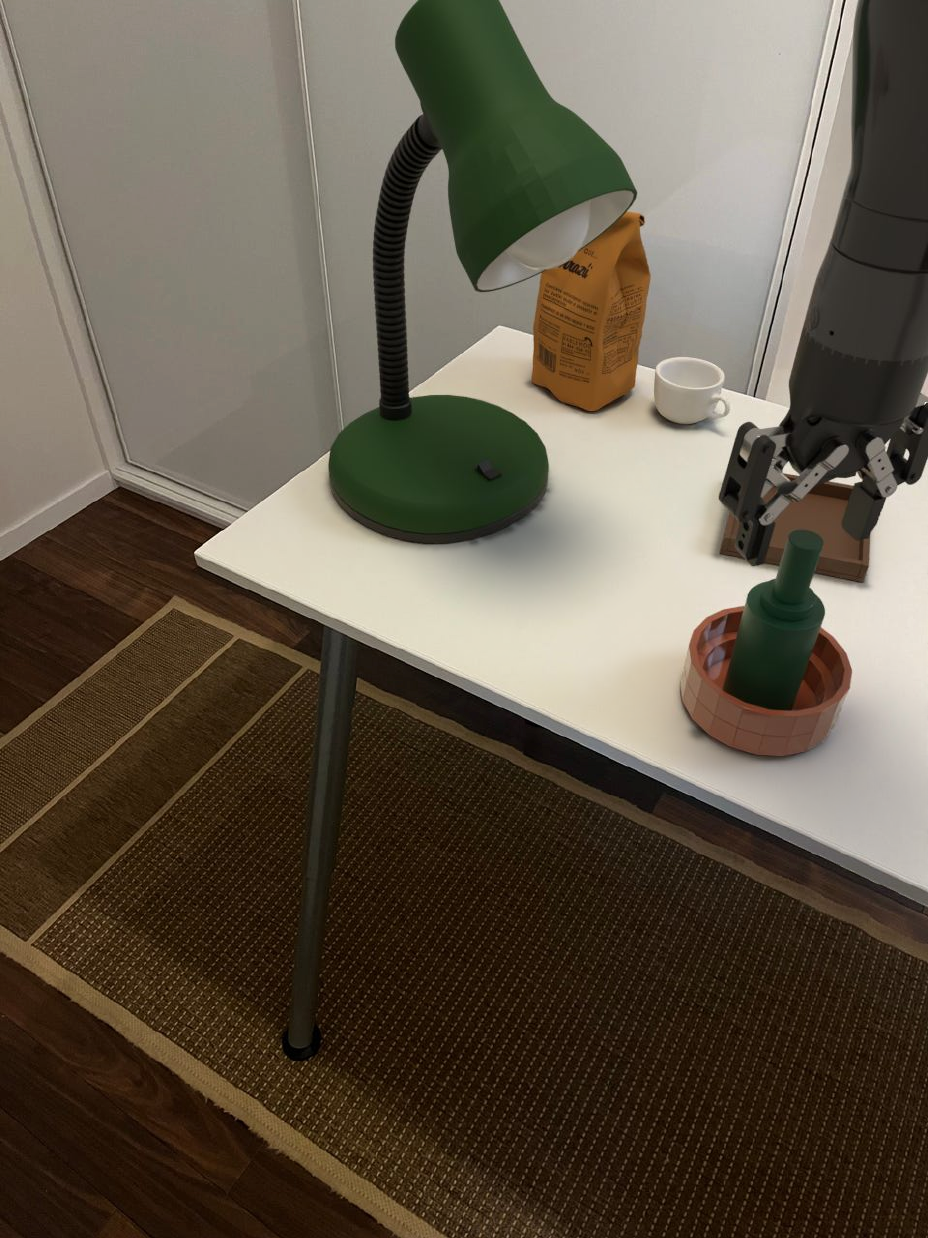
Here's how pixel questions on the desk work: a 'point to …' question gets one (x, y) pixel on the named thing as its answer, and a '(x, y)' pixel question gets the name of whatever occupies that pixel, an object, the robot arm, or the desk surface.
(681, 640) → the desk surface
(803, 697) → the bowl
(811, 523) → the tray
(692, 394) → the teacup
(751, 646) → the bottle
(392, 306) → the desk lamp
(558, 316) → the coffee package
